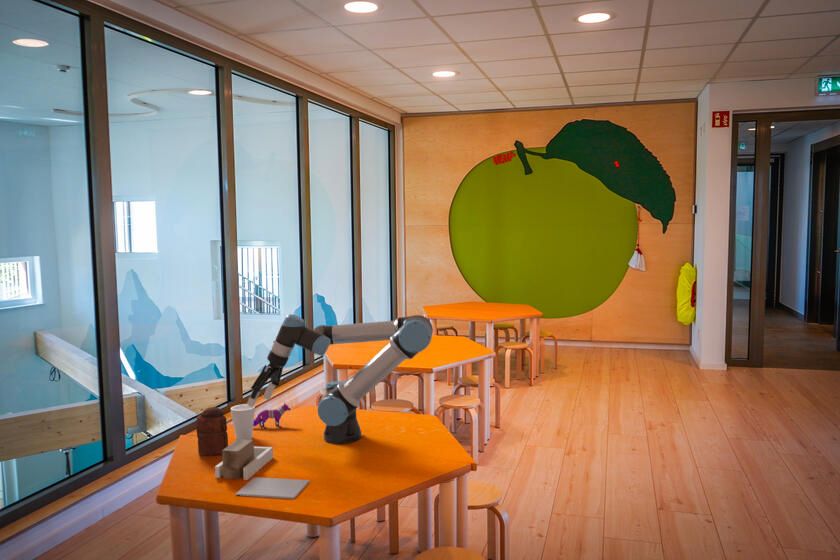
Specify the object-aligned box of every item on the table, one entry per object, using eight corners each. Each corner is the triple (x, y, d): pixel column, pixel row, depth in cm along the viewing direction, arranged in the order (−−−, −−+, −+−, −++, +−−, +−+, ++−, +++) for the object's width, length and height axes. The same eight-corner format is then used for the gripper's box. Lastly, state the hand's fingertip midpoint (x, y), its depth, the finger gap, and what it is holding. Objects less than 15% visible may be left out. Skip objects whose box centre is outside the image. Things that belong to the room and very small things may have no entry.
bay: (273, 457, 254) (272, 447, 254) (247, 479, 233) (247, 468, 233) (243, 456, 257) (242, 445, 256) (215, 477, 236) (214, 466, 235)
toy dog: (291, 427, 292) (290, 403, 291) (248, 430, 289) (247, 406, 288) (291, 424, 295) (290, 401, 294) (249, 427, 292) (248, 404, 291)
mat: (309, 482, 230) (309, 480, 230) (294, 499, 216) (293, 497, 216) (254, 478, 234) (254, 477, 234) (235, 495, 220) (235, 493, 220)
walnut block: (254, 466, 246) (253, 439, 245) (239, 479, 234) (238, 451, 233) (239, 466, 247) (237, 439, 246) (223, 478, 235) (222, 450, 234)
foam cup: (259, 435, 282) (257, 404, 280) (251, 442, 272) (250, 410, 271) (237, 434, 283) (235, 404, 281) (228, 442, 273) (227, 410, 272)
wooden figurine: (230, 449, 264) (228, 404, 263) (227, 455, 258) (225, 409, 256) (199, 451, 263) (197, 405, 262) (195, 457, 257) (193, 410, 255)
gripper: (285, 345, 273) (264, 391, 275) (257, 352, 249) (234, 403, 251) (301, 353, 272) (279, 400, 274) (274, 362, 247) (251, 413, 250)
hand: (258, 402), depth 263 cm, fingers open, 13 cm apart
